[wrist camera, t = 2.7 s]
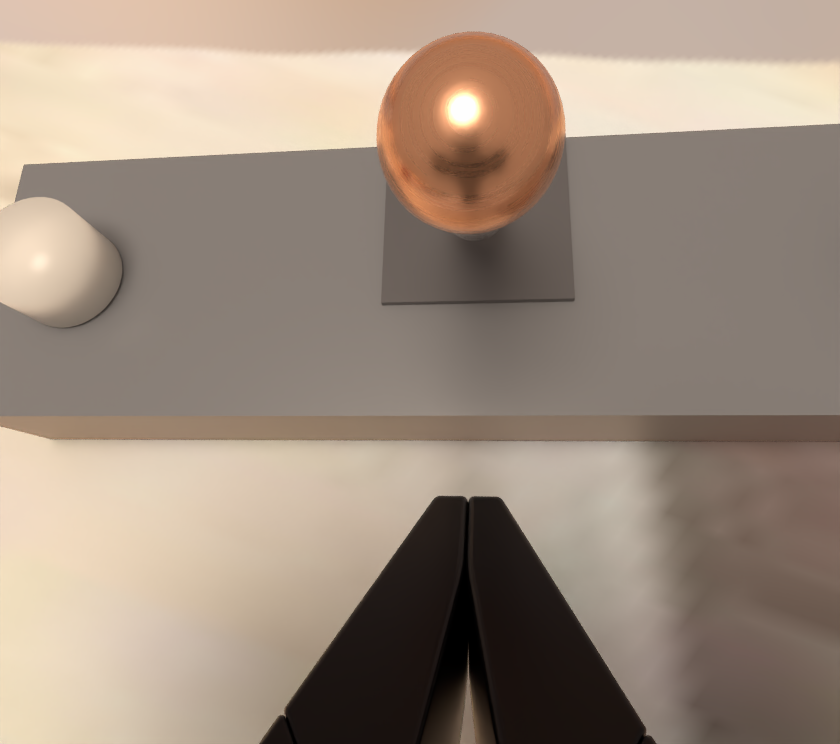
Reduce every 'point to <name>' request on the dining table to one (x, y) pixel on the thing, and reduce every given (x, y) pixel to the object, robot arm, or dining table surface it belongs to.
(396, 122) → the toggle lever
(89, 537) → the dining table surface
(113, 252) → the push button
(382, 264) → the switch panel
